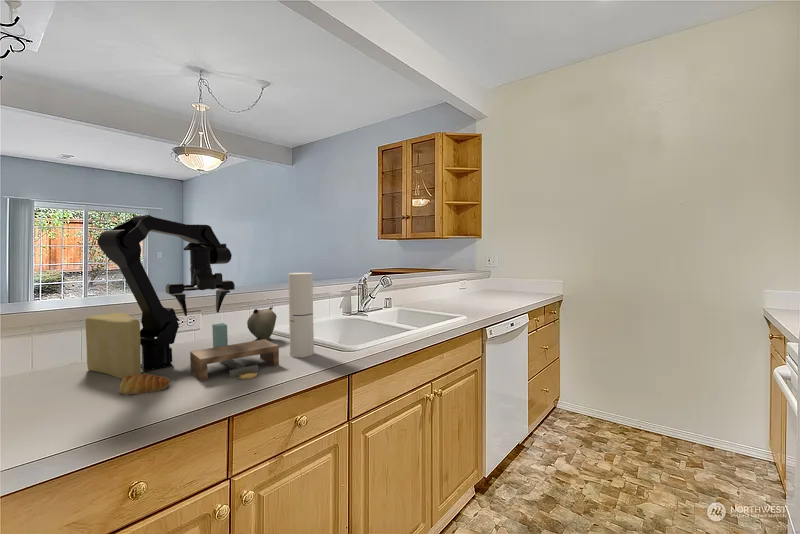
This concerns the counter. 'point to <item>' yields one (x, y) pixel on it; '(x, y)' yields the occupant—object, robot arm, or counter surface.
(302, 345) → the cylindrical container
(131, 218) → the robot arm
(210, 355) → the walnut shelf
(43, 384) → the counter surface
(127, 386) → the pastry
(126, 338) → the cheese
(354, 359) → the counter surface
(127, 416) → the counter surface
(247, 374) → the brass puck
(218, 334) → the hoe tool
